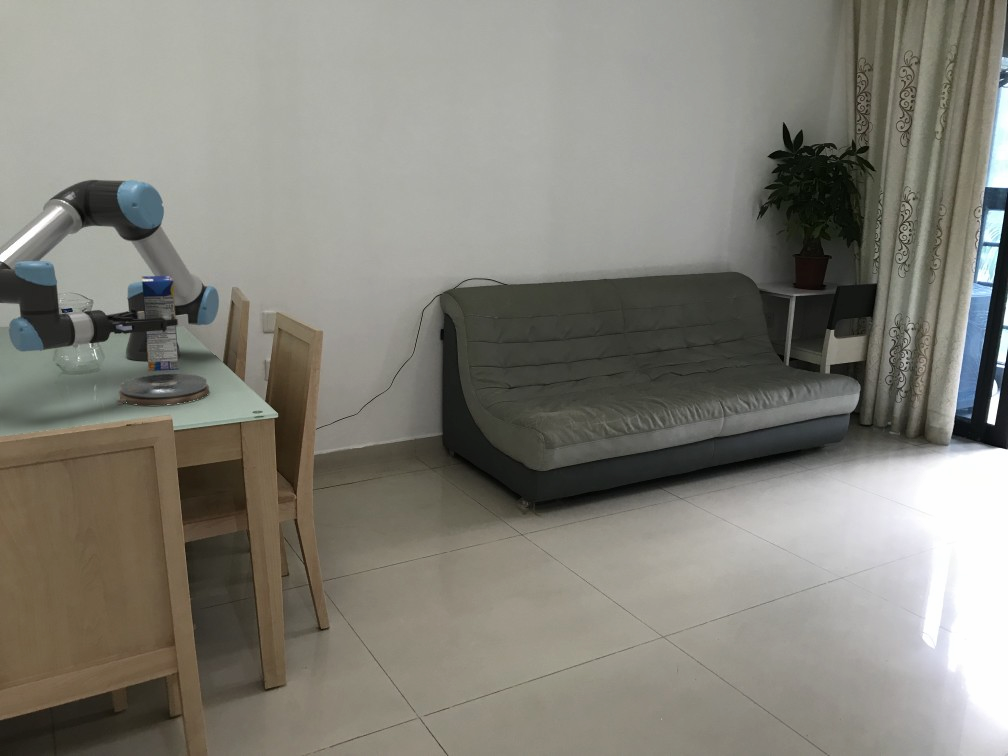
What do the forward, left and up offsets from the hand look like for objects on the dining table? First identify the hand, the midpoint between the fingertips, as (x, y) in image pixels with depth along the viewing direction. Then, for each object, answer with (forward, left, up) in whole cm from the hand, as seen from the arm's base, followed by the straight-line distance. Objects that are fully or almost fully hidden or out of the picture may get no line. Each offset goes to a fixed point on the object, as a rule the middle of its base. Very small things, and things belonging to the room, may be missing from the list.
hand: (174, 317), depth 204 cm
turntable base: (+4, 0, -19) cm, 20 cm away
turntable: (+4, 0, -18) cm, 18 cm away
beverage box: (+4, 0, -12) cm, 13 cm away
